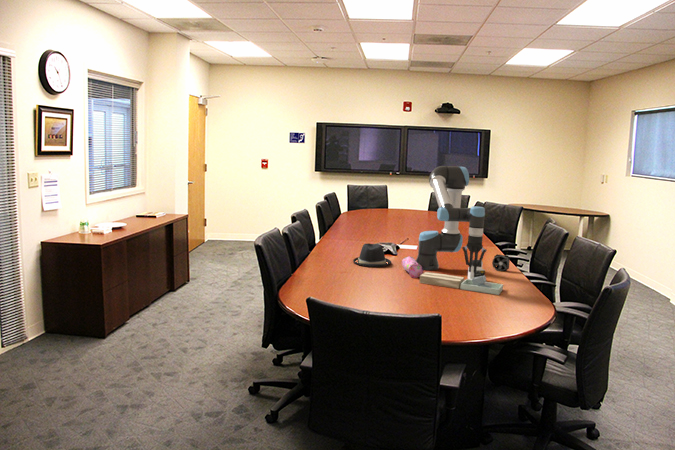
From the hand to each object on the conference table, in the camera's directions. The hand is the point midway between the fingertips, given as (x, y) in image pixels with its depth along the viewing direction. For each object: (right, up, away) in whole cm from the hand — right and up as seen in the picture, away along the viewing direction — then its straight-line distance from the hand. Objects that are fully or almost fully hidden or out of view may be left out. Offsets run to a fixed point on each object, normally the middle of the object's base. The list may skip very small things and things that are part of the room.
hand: (472, 278), depth 279 cm
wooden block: (-15, -4, +8) cm, 17 cm away
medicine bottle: (+7, -3, +18) cm, 20 cm away
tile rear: (+4, -2, -2) cm, 5 cm away
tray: (+5, -6, -2) cm, 8 cm away
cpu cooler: (+31, 0, +48) cm, 57 cm away
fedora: (-51, +4, +54) cm, 74 cm away
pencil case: (-29, -1, +29) cm, 41 cm away
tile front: (+6, -3, -3) cm, 7 cm away
